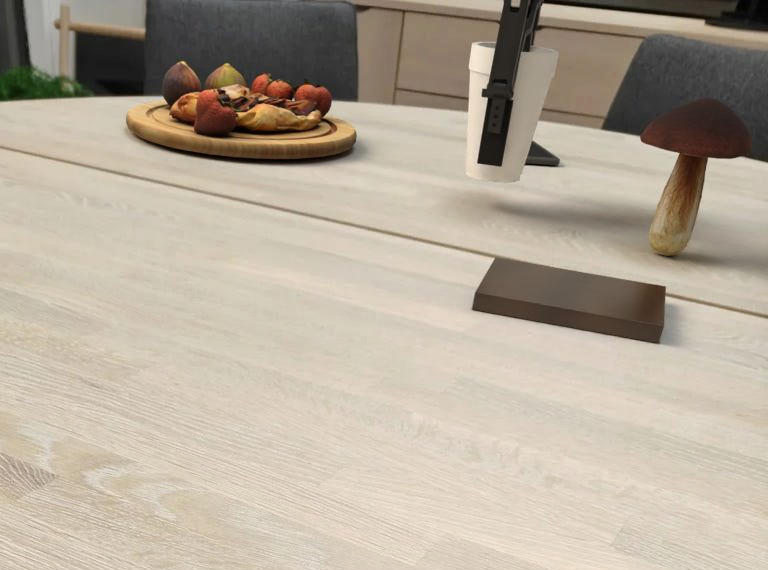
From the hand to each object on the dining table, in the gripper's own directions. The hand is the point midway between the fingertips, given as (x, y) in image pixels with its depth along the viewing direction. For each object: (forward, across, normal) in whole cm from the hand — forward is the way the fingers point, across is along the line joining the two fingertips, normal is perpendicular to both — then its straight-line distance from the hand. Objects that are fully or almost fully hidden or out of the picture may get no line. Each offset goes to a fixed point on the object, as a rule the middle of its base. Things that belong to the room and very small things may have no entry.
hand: (495, 157), depth 115 cm
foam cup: (+2, 0, 0) cm, 2 cm away
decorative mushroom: (+6, +9, +21) cm, 23 cm away
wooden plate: (+5, -17, -37) cm, 41 cm away
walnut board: (+6, +33, +13) cm, 36 cm away
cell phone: (+5, -35, 0) cm, 36 cm away
